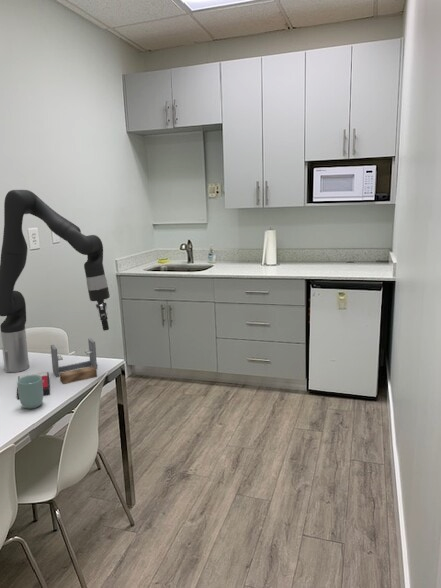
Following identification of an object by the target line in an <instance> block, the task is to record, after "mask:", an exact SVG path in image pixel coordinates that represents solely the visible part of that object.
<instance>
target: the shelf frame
mask: <svg viewBox="0 0 441 588" xmlns="http://www.w3.org/2000/svg"><path fill="white" fill-rule="evenodd" d="M87 341H88V349H86V350H84V353H85V354H86V355H87V356H89V360H87V361H80V362H77V363H70V364H66V365H61V366H59V361H63V356H62V355H60V354H58V348H57V347H56V345H54V344H50V356H51V365H52V373H53V375H54V376H55V378H60V373H63V372H68V371H72V370H77V369H82V368H87V367H92V366H94V367H95V368H96V370H97V369H98V364H97V363H98V362H97V348H96V347H97V346H96V341H95V340H94V339H93V338H92V337H90V338H88V339H87Z"/></svg>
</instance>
